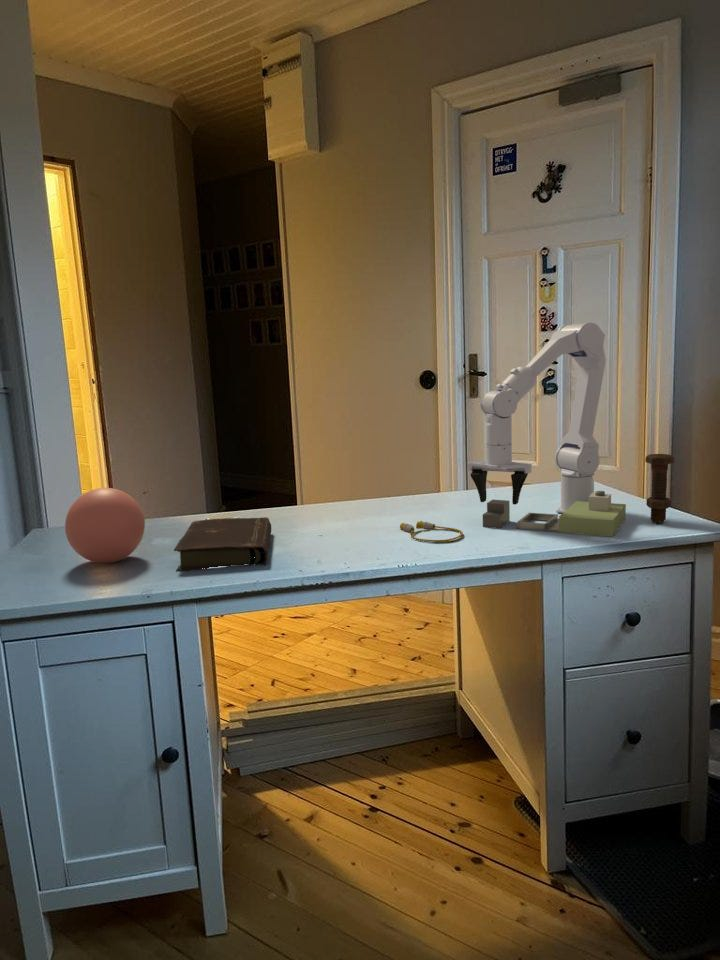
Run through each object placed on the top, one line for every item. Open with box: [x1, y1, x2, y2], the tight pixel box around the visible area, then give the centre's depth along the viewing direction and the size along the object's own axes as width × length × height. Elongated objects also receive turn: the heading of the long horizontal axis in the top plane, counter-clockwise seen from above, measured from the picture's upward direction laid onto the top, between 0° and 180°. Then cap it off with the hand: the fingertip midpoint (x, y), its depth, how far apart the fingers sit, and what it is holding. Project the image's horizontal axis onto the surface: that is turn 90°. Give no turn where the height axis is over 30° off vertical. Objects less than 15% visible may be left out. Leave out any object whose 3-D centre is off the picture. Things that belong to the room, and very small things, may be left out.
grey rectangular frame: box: [516, 512, 560, 533], centre depth 163 cm, size 10×9×2 cm
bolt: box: [645, 453, 675, 525], centre depth 159 cm, size 6×5×15 cm
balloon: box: [64, 487, 146, 564], centre depth 151 cm, size 15×20×15 cm
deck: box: [558, 490, 627, 538], centre depth 160 cm, size 16×11×7 cm
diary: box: [173, 516, 272, 573], centre depth 154 cm, size 19×25×5 cm
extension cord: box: [399, 520, 464, 543], centre depth 160 cm, size 12×16×2 cm
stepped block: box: [482, 499, 511, 529], centre depth 166 cm, size 7×4×5 cm, turn 151°
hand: (499, 502), depth 167 cm, fingers open, 7 cm apart
